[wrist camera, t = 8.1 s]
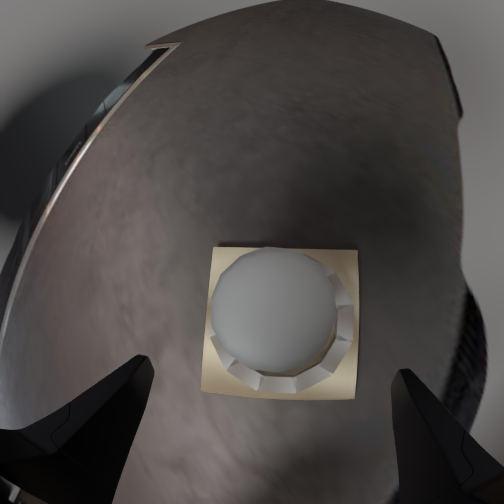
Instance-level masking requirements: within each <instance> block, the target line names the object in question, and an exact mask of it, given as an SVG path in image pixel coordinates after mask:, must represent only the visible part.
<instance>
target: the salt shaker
mask: <svg viewBox="0 0 504 504" xmlns="http://www.w3.org/2000/svg"><path fill="white" fill-rule="evenodd" d="M210 302H211V324H212V329H213V331H214V332H215V334H216V336H217V338H218V339H219V341H220V343H221V345H222V346H223V348H224V350H225V351H226V352H227V353H228V354H229V355H231V356H232V357H234V358H235V359H237V360H238V361H239V362H241V363H242V364H244V365H245V366H247V367H248V368H250V369H252V370H260V371H268V372H277V373H280V372H284V371H287V370H290V369H293V368H296V367H299V366H302V365H305V364H308V363H309V362H310V361H311V360H312V359H313V358H314V357H315V356H316V355H317V354H318V352H319V351H320V350H321V349H322V348H323V347H324V346H325V345H326V344H327V343H328V340H329V338H330V335H331V332H332V329H333V326H334V324H335V321H336V318H337V310H336V303H335V296H334V290H333V286H332V284H331V282H330V281H329V279H328V278H327V276H326V275H325V273H324V272H323V270H322V269H321V267H320V266H319V264H318V263H317V262H315V261H313V260H311V259H310V258H308V257H306V256H304V255H303V254H301V253H299V252H297V251H296V250H294V249H285V248H276V247H264V248H261V249H258V250H255V251H253V252H250V253H247V254H244V255H241V256H240V257H239V258H238V259H237V260H235V261H234V262H233V263H232V264H231V265H230V266H229V267H228V268H227V269H226V270H225V271H223V272H222V273H221V274H220V277H219V279H218V282H217V284H216V287H215V289H214V292H213V294H212V297H211V300H210Z"/></svg>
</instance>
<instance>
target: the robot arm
mask: <svg viewBox="0 0 504 504" xmlns="http://www.w3.org/2000/svg"><path fill="white" fill-rule="evenodd" d="M153 378H154V368H153V366H152V364H151V361H150V359H149V357H148V356H145V355H140V354H139V355H136V356H135V357H133V358H132V359H130V360H129V361H128V362H126V363H125V364H123V365H122V366H121V367H119V368H118V369H116V370H115V371H113V372H112V373H111V374H109V375H108V376H106V377H105V378H103V379H102V380H101V381H99V382H98V383H96V384H95V385H93V386H92V387H91V388H89V389H88V390H86V391H85V392H83V393H82V394H80V395H79V396H78V397H76V398H75V399H73V400H72V401H71V402H69V403H67V404H66V405H64V406H63V407H61V408H60V409H58V410H57V411H55V412H53V413H52V414H50V415H48V416H46V417H44V418H43V419H41V420H39V421H37V422H35V423H33V424H31V425H29V426H27V427H25V428H22V429H18V430H7V429H0V504H112V501H113V498H114V495H115V492H116V489H117V486H118V483H119V480H120V477H121V474H122V471H123V468H124V465H125V462H126V460H127V457H128V454H129V451H130V448H131V446H132V443H133V440H134V437H135V435H136V432H137V429H138V427H139V424H140V421H141V419H142V416H143V414H144V411H145V408H146V405H147V401H148V397H149V393H150V389H151V385H152V382H153ZM391 398H392V420H393V431H394V438H395V446H396V454H397V464H398V475H399V489H400V504H504V467H503V466H502V465H501V464H500V463H499V462H498V461H496V460H495V459H494V458H493V457H492V456H491V455H490V454H489V453H488V452H486V450H484V449H483V448H482V447H481V446H480V445H479V444H478V443H477V442H476V441H475V439H474V438H473V437H472V436H471V435H470V434H469V433H468V432H467V431H466V430H464V427H463V426H462V425H461V424H460V423H459V422H458V420H457V419H456V418H455V417H454V416H453V415H452V414H451V413H450V412H449V410H448V409H447V408H446V407H445V406H444V405H443V404H442V403H441V402H440V401H439V399H438V398H437V397H436V396H435V395H434V394H433V393H432V392H431V391H430V390H429V389H428V388H427V386H426V385H425V384H424V383H423V382H422V381H421V380H420V379H419V378H418V377H417V376H416V375H415V374H414V373H413V372H412V371H411V370H410V369H408V368H407V369H400V370H398V372H397V374H396V376H395V378H394V380H393V382H392V384H391Z"/></svg>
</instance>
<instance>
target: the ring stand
mask: <svg viewBox="0 0 504 504" xmlns="http://www.w3.org/2000/svg"><path fill="white" fill-rule="evenodd" d="M258 249H261V248H240V247H213V256H212V265H211V274H210V283H209V293H208V304H207V314H206V326H205V338H204V351H203V364H202V379H201V391H204V392H211V393H218V394H226V395H234V396H244V397H255V398H269V399H290V400H338V399H354V398H355V388H356V376H357V361H358V339H359V274H358V252H357V250H330V249H294V250H296V251H297V252H299V253H301V254H303V255H304V256H306V257H308V258H310V259H311V260H313V261H315V262H317V263H318V264H319V266H320V267H321V269H322V270H323V272H324V273H325V275H326V276H327V278H328V279H329V281H330V282H331V284H332V286H333V290H334V296H335V303H336V310H337V318H336V321H335V324H334V326H333V329H332V332H331V335H330V338H329V340H328V343H327V344H326V345H325V346H324V347H323V348H322V349H321V350H320V351H319V352H318V354H317V355H316V356H315V357H314V358H313V359H312V360H311V361H310V362H309V363H308V364H305V365H302V366H299V367H296V368H293V369H290V370H287V371H284V372H280V373H277V372H268V371H260V370H252V369H250V368H248V367H247V366H245V365H244V364H242V363H241V362H239V361H238V360H237V359H235V358H234V357H232V356H231V355H229V354H228V353H227V352H226V351H225V350H224V348H223V346H222V345H221V343H220V341H219V339H218V338H217V336H216V334H215V332H214V331H213V329H212V324H211V302H210V300H211V297H212V294H213V292H214V289H215V287H216V284H217V282H218V279H219V277H220V274H221V273H222V272H223V271H225V270H226V269H227V268H228V267H229V266H230V265H231V264H232V263H233V262H234V261H235V260H237V259H238V258H239V257H240V256H241V255H244V254H247V253H250V252H253V251H255V250H258ZM285 249H287V248H285Z"/></svg>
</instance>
